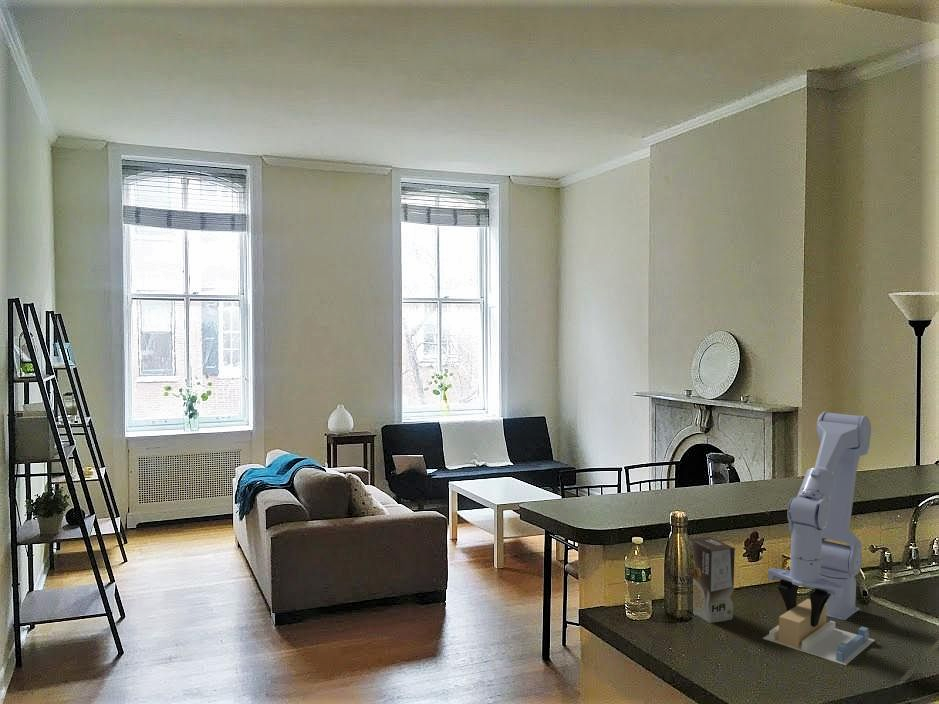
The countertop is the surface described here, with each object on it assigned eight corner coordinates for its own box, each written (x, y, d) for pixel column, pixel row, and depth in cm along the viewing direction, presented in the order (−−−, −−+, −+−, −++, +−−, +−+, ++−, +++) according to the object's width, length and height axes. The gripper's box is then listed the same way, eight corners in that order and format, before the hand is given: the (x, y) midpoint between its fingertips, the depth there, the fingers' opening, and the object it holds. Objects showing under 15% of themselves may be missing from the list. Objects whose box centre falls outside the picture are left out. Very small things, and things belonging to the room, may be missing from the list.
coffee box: (734, 621, 167) (737, 548, 166) (709, 625, 164) (712, 550, 164) (707, 606, 175) (709, 535, 174) (683, 609, 173) (685, 538, 172)
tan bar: (806, 621, 166) (807, 598, 165) (825, 627, 163) (826, 604, 163) (778, 641, 156) (779, 616, 156) (798, 647, 153) (799, 622, 153)
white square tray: (795, 619, 168) (796, 604, 168) (874, 642, 157) (875, 627, 157) (762, 641, 157) (763, 625, 157) (845, 668, 146) (846, 651, 146)
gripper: (762, 552, 161) (759, 616, 162) (835, 569, 150) (832, 638, 151) (777, 545, 166) (774, 607, 167) (848, 561, 155) (845, 628, 156)
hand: (803, 621), depth 159 cm, fingers closed on tan bar, 4 cm apart
